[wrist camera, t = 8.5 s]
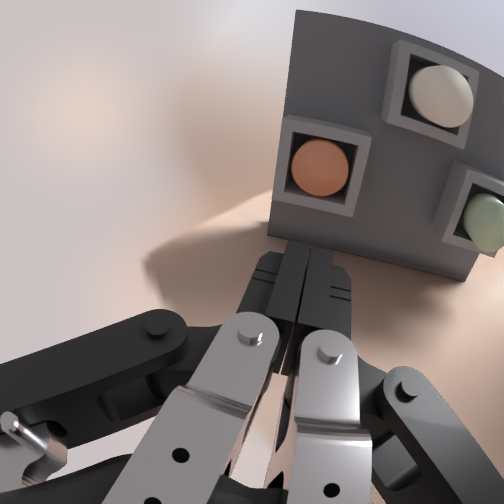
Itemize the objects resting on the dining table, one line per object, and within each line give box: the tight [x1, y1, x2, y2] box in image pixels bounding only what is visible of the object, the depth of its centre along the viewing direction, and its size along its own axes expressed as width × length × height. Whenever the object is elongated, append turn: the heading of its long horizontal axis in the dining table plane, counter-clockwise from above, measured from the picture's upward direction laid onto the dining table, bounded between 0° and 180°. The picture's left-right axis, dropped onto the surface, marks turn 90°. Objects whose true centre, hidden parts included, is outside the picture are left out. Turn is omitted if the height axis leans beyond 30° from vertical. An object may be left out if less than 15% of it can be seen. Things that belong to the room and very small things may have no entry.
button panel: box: [267, 10, 504, 282], centre depth 20 cm, size 6×21×20 cm, turn 75°
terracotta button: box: [292, 136, 348, 196], centre depth 21 cm, size 2×4×4 cm, turn 75°
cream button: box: [408, 65, 473, 127], centre depth 14 cm, size 2×4×4 cm, turn 75°
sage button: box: [462, 192, 504, 253], centre depth 17 cm, size 2×4×4 cm, turn 75°
